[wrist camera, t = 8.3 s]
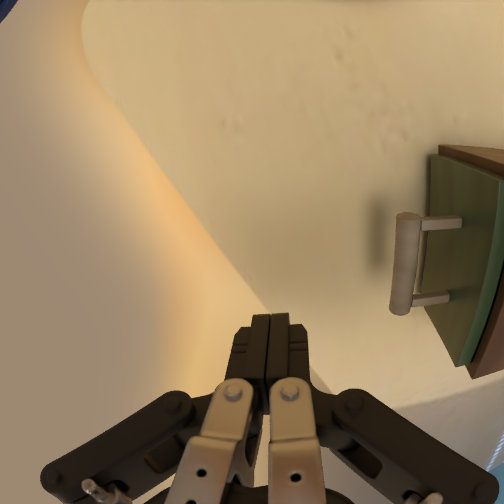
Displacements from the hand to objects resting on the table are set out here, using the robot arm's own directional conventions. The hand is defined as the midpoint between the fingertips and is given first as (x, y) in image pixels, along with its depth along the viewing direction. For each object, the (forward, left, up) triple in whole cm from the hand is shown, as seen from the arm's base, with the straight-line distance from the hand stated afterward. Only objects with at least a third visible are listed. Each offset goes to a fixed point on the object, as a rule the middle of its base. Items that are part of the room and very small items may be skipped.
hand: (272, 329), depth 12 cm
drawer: (+15, 0, -9) cm, 18 cm away
